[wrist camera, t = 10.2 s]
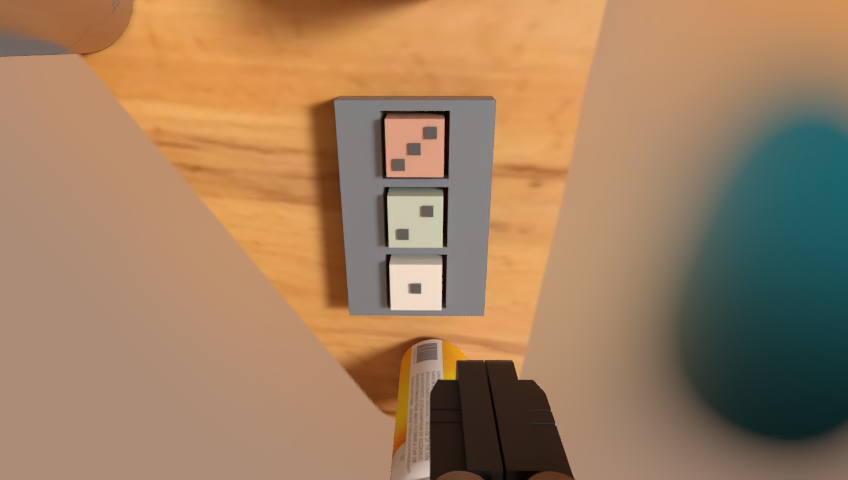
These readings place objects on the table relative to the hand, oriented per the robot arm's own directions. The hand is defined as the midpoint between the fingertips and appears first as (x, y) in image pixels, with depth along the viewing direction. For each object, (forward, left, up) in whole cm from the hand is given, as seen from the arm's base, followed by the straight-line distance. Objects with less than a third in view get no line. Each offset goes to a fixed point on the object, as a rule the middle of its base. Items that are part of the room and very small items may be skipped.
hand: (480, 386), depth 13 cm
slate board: (-2, -4, -26) cm, 26 cm away
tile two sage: (-2, -4, -25) cm, 25 cm away
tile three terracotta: (-2, +2, -25) cm, 25 cm away
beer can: (-1, -19, -26) cm, 32 cm away
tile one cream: (-2, -9, -25) cm, 27 cm away
